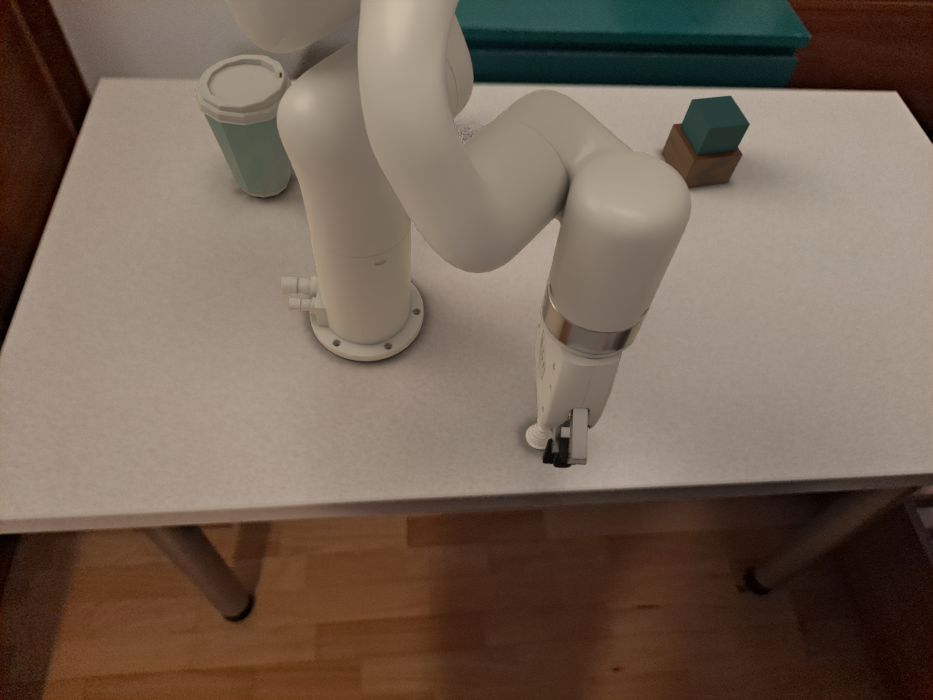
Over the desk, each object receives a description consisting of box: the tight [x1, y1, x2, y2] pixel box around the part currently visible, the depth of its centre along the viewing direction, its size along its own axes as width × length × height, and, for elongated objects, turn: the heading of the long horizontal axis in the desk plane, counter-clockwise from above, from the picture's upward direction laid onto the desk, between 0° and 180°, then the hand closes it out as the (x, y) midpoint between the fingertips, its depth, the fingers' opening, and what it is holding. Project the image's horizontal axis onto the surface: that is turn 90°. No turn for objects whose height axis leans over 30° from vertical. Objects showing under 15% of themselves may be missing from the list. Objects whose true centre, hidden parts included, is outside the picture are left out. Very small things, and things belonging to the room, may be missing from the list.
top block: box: [680, 95, 751, 156], centre depth 88 cm, size 6×6×4 cm
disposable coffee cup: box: [194, 54, 293, 199], centre depth 81 cm, size 11×11×15 cm
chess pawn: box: [525, 417, 553, 450], centre depth 69 cm, size 3×3×5 cm
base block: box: [661, 122, 743, 189], centre depth 92 cm, size 7×7×5 cm
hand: (556, 414), depth 65 cm, fingers open, 9 cm apart
